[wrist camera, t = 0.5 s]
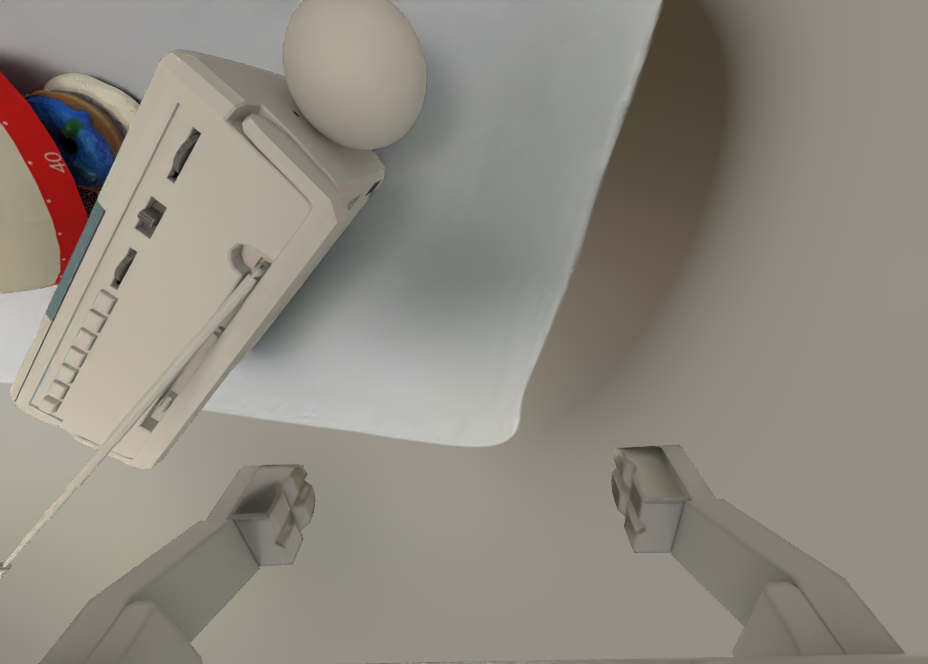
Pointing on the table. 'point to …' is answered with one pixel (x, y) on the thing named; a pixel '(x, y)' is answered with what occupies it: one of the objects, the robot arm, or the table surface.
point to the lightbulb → (355, 70)
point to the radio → (186, 258)
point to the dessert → (84, 124)
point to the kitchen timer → (33, 200)
